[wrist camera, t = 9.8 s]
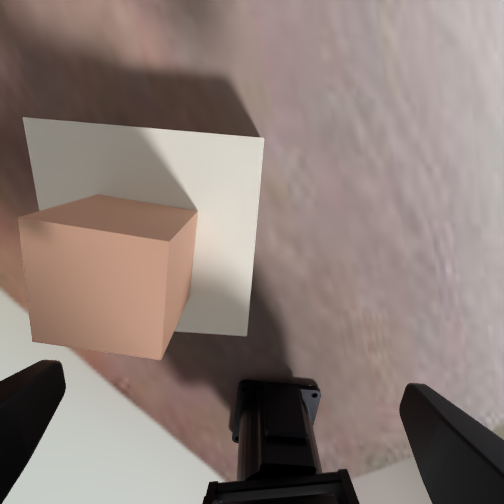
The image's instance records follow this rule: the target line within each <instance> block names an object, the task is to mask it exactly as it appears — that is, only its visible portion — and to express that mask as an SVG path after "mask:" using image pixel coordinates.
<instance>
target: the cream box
mask: <svg viewBox="0 0 504 504" xmlns="http://www.w3.org/2000/svg"><path fill="white" fill-rule="evenodd" d="M23 123H24V128H25V134H26V139H27V145H28V150H29V156H30V162H31V167H32V173H33V178H34V184H35V190H36V195H37V201H38V206H39V211H41V210H44V209H48V208H51V207H55V206H58V205H62V204H65V203H69V202H72V201H76V200H79V199H83V198H86V197H90V196H93V195H97V194H99V195H105V196H111V197H117V198H123V199H129V200H135V201H141V202H147V203H153V204H159V205H165V206H171V207H177V208H183V209H189V210H195V211H198V217H197V227H196V237H195V246H194V256H193V266H192V276H191V285H190V295H189V299H188V302H187V304H186V306H185V308H184V311H183V313H182V315H181V317H180V319H179V322H178V324H177V326H176V328H175V330H174V331H176V332H191V333H206V334H220V335H235V336H247V329H248V318H249V306H250V295H251V284H252V272H253V261H254V250H255V238H256V227H257V216H258V204H259V193H260V181H261V170H262V159H263V147H264V138H259V137H248V136H236V135H224V134H213V133H201V132H190V131H178V130H166V129H155V128H143V127H131V126H120V125H108V124H97V123H85V122H73V121H62V120H50V119H39V118H27V117H23Z"/></svg>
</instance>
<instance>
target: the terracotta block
mask: <svg viewBox="0 0 504 504" xmlns="http://www.w3.org/2000/svg"><path fill="white" fill-rule="evenodd" d="M197 217H198V211H195V210H189V209H183V208H177V207H171V206H165V205H159V204H153V203H147V202H141V201H135V200H129V199H123V198H117V197H111V196H105V195H99V194H97V195H93V196H90V197H86V198H83V199H79V200H76V201H72V202H69V203H65V204H62V205H58V206H55V207H51V208H48V209H44V210H41V211H37V212H34V213H30V214H27V215H23V216H20V217H18V224H19V233H20V241H21V250H22V258H23V266H24V275H25V283H26V292H27V300H28V308H29V317H30V325H31V333H32V341H33V342H38V343H46V344H52V345H59V346H66V347H73V348H80V349H87V350H94V351H101V352H108V353H115V354H122V355H129V356H136V357H143V358H150V359H157V360H161V359H162V357H163V355H164V353H165V350H166V348H167V346H168V344H169V342H170V339H171V337H172V335H173V333H174V330H175V328H176V326H177V324H178V322H179V319H180V317H181V315H182V313H183V311H184V308H185V306H186V304H187V302H188V299H189V295H190V285H191V276H192V266H193V256H194V246H195V237H196V227H197Z"/></svg>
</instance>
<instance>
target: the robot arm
mask: <svg viewBox="0 0 504 504" xmlns="http://www.w3.org/2000/svg"><path fill="white" fill-rule="evenodd" d="M65 389H66V383H65V378H64V373H63V367H62V364H61V362H60V361H56V360H41V361H39V362H37V363H35V364H33V365H31V366H29V367H27V368H26V369H23V370H21V371H20V372H17V373H15V374H14V375H12V376H10V377H8V378H6V379H4V380H2V381H0V504H2V502H3V500H4V499H5V498H6V496H7V495H8V493H9V491H10V490H11V488H12V487H13V485H14V484H15V482H16V481H17V479H18V478H19V476H20V474H21V473H22V471H23V470H24V468H25V466H26V465H27V463H28V461H29V460H30V458H31V456H32V454H33V453H34V451H35V449H36V447H37V445H38V443H39V441H40V440H41V438H42V436H43V434H44V432H45V430H46V428H47V426H48V424H49V422H50V421H51V419H52V417H53V415H54V413H55V411H56V409H57V407H58V405H59V403H60V401H61V400H62V398H63V396H64V393H65ZM313 393H315V394H313ZM320 397H321V393H320V389H319V388H318V387H315V386H305V385H294V384H283V383H272V382H261V381H251V380H242V381H241V382H239V386H238V394H237V402H236V410H235V418H234V426H233V434H232V440H233V442H235V443H239V447H238V467H237V481H233V482H222V483H218V481H214V482H209V485H208V489H207V493H206V496H205V497H204V500H203V504H359V501H358V499H357V496H356V493H355V490H354V487H353V485H352V482H351V479H350V476H349V474H348V471H347V469H340V470H338V472H327V473H322V468H321V463H320V459H319V454H318V449H317V445H316V440H315V435H314V431H313V424H314V420H315V417H316V413H317V409H318V405H319V401H320ZM399 411H400V416H401V420H402V422H403V425H404V428H405V431H406V434H407V437H408V440H409V443H410V446H411V449H412V452H413V455H414V457H415V460H416V463H417V466H418V469H419V472H420V475H421V477H422V480H423V482H424V485H425V487H426V490H427V492H428V494H429V497H430V499H431V501H432V503H433V504H504V440H503V439H502V438H500V437H499V436H497V435H496V434H494V433H493V432H492V431H490V430H489V429H488V428H486V427H485V426H483V425H482V424H481V423H479V422H478V421H476V420H475V419H474V418H472V417H471V416H469V415H468V414H467V413H465V412H464V411H462V410H461V409H460V408H458V407H457V406H455V405H454V404H452V403H451V402H450V401H448V400H447V399H445V398H444V397H443V396H441V395H440V394H438V393H437V392H436V391H434V390H433V389H431V388H430V387H429V386H427V385H425V384H418V383H409V384H408V385H407V386H406V388H405V391H404V394H403V397H402V400H401V403H400V408H399Z"/></svg>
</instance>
